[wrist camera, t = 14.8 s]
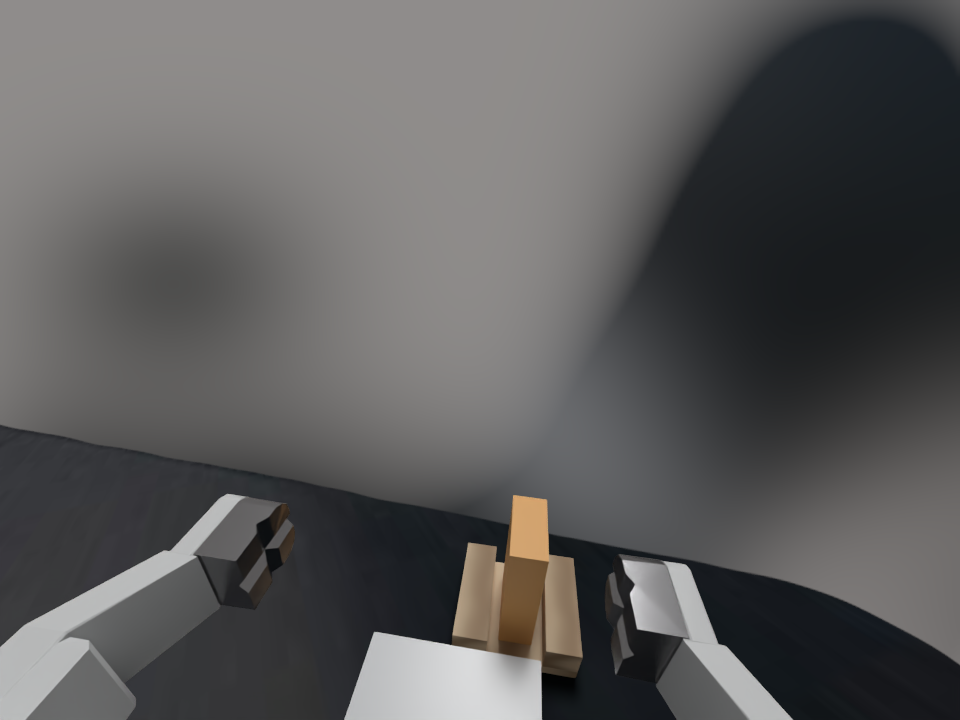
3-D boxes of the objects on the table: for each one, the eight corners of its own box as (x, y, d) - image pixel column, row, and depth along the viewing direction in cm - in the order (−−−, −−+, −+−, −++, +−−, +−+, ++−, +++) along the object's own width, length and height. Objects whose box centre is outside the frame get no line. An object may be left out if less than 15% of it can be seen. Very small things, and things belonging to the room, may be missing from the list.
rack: (451, 656, 34) (452, 635, 33) (467, 563, 42) (468, 542, 41) (575, 678, 33) (582, 657, 32) (567, 579, 41) (573, 558, 40)
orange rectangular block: (498, 640, 35) (509, 555, 29) (502, 576, 40) (513, 495, 35) (531, 645, 35) (549, 561, 29) (531, 581, 40) (546, 499, 34)
